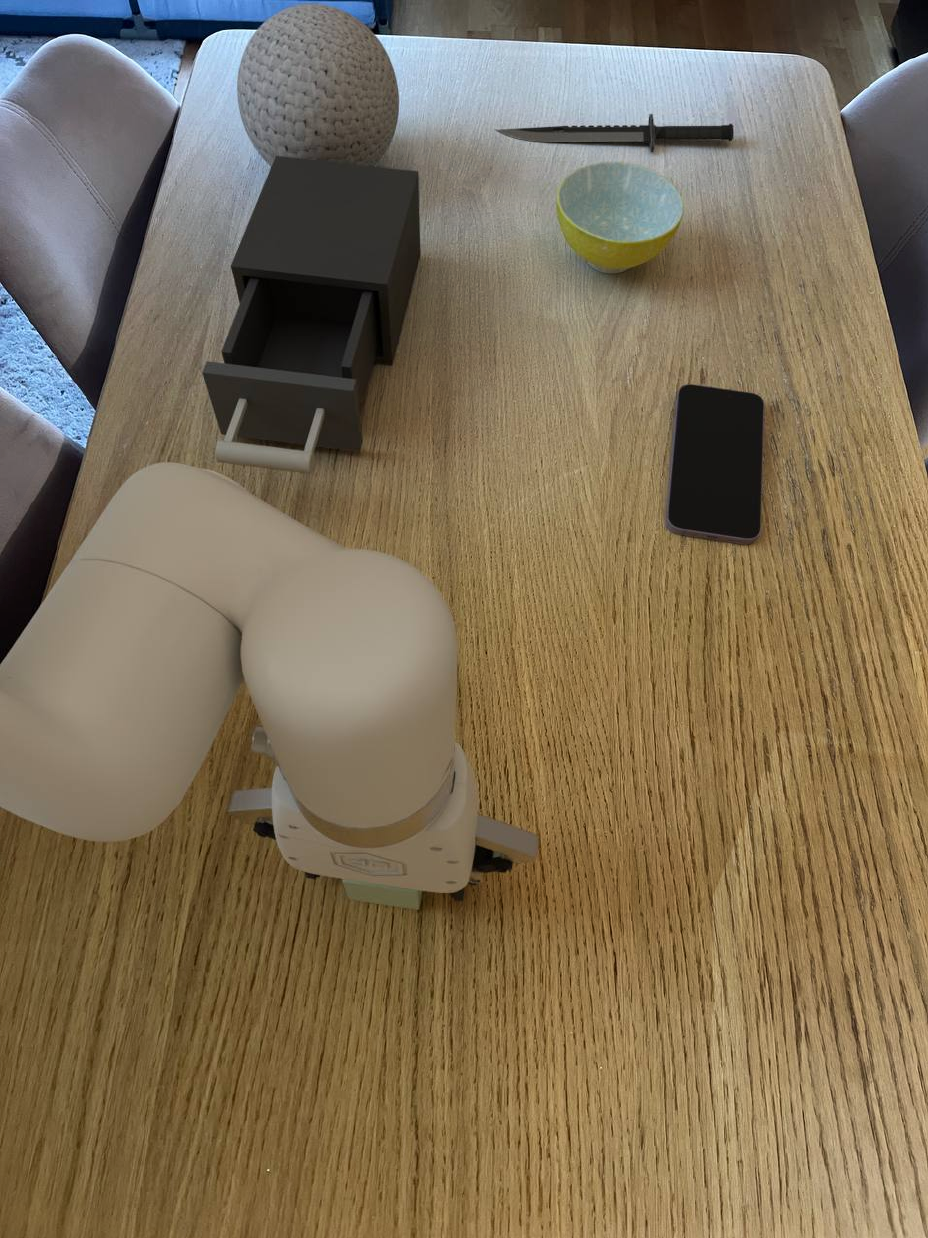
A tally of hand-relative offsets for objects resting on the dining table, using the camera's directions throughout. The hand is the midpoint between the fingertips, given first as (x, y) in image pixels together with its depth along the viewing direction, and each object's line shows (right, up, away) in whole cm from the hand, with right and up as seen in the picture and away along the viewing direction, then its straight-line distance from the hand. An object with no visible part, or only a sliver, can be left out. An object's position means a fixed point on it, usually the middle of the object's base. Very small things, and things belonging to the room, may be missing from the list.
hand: (389, 864), depth 56 cm
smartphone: (+25, +27, +18) cm, 41 cm away
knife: (+20, +66, +40) cm, 80 cm away
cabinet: (-7, +44, +27) cm, 52 cm away
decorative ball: (-9, +60, +36) cm, 71 cm away
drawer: (-9, +32, +19) cm, 38 cm away
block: (0, -1, +1) cm, 1 cm away
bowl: (+18, +49, +31) cm, 61 cm away
